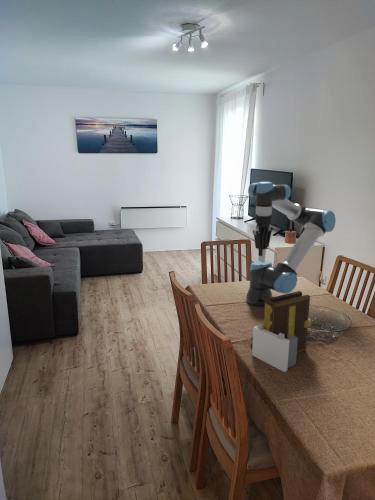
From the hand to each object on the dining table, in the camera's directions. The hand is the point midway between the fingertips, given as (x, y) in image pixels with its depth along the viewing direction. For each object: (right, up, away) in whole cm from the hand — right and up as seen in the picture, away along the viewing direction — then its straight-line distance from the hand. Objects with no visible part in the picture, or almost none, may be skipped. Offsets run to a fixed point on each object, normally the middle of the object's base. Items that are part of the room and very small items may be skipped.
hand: (261, 261), depth 182 cm
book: (+5, -38, -26) cm, 46 cm away
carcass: (-1, -39, -32) cm, 50 cm away
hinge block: (-6, -36, -19) cm, 41 cm away
